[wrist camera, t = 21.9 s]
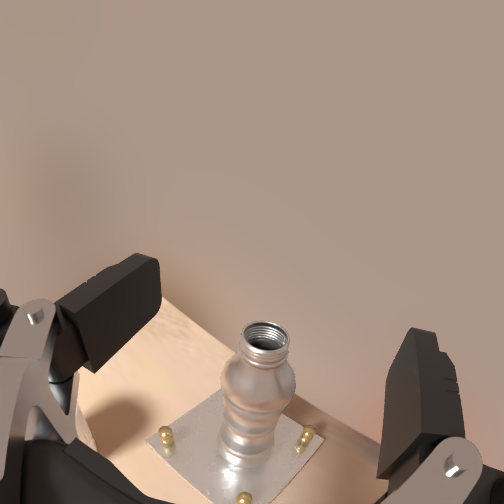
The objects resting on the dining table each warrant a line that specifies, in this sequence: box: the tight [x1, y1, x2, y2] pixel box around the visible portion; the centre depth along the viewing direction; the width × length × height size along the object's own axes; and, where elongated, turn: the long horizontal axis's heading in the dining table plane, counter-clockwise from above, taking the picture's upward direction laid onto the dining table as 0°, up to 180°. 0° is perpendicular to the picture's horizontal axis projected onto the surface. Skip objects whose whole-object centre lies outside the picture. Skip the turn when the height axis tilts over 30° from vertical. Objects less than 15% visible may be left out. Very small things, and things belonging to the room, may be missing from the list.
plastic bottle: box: [216, 321, 296, 468], centre depth 27 cm, size 6×7×20 cm
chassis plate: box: [146, 389, 324, 504], centre depth 32 cm, size 16×16×4 cm
